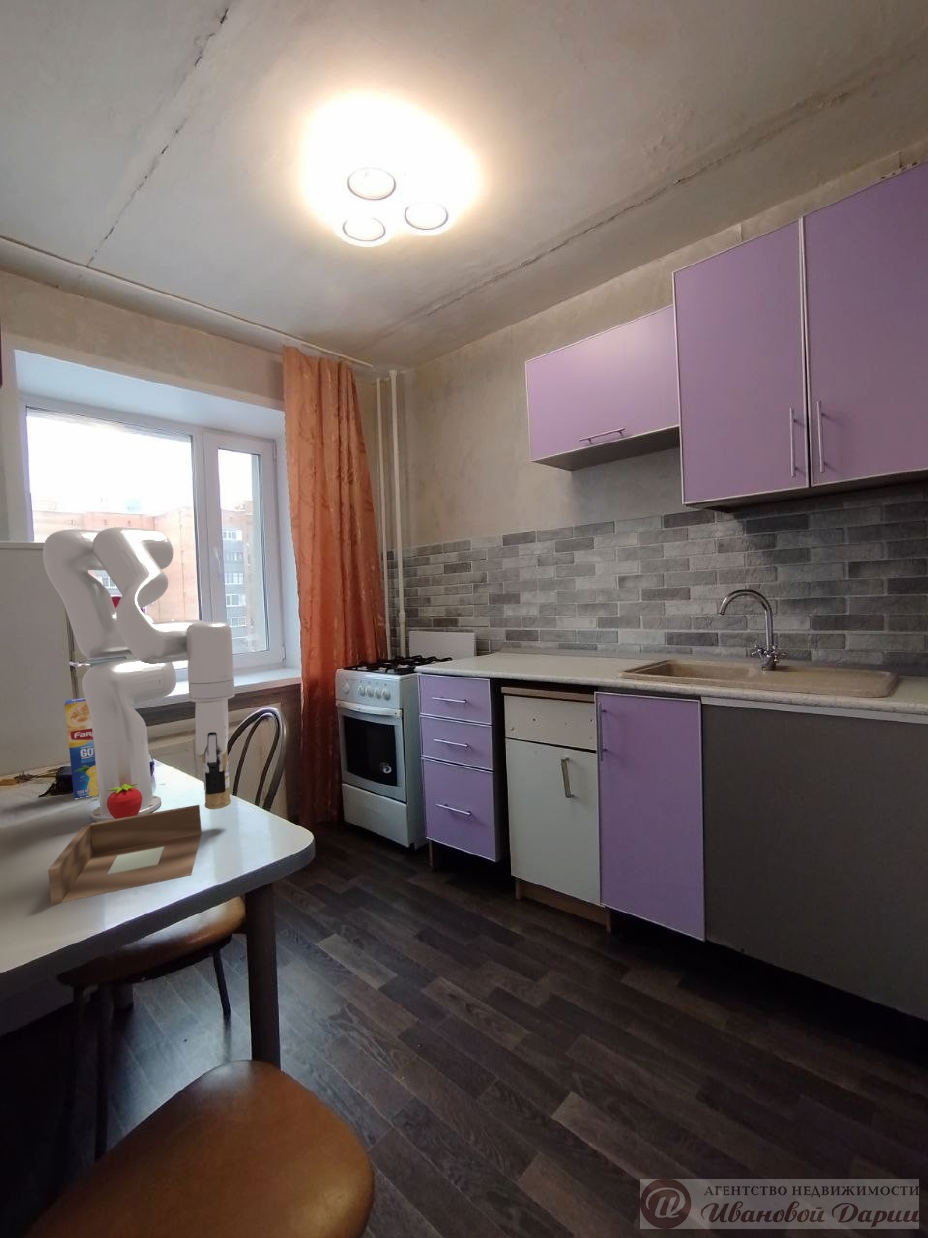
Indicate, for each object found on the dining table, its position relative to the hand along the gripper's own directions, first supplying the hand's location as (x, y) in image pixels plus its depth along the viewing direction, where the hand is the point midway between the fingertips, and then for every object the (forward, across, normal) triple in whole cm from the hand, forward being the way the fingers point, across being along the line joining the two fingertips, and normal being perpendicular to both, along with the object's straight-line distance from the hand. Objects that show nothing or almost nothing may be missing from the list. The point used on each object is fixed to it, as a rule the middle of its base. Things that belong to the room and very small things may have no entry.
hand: (216, 787), depth 104 cm
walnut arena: (+8, +9, -12) cm, 17 cm away
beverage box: (+11, -42, -28) cm, 51 cm away
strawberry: (+10, -11, -17) cm, 22 cm away
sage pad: (+8, +8, -12) cm, 16 cm away
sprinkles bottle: (+4, 0, 0) cm, 4 cm away
